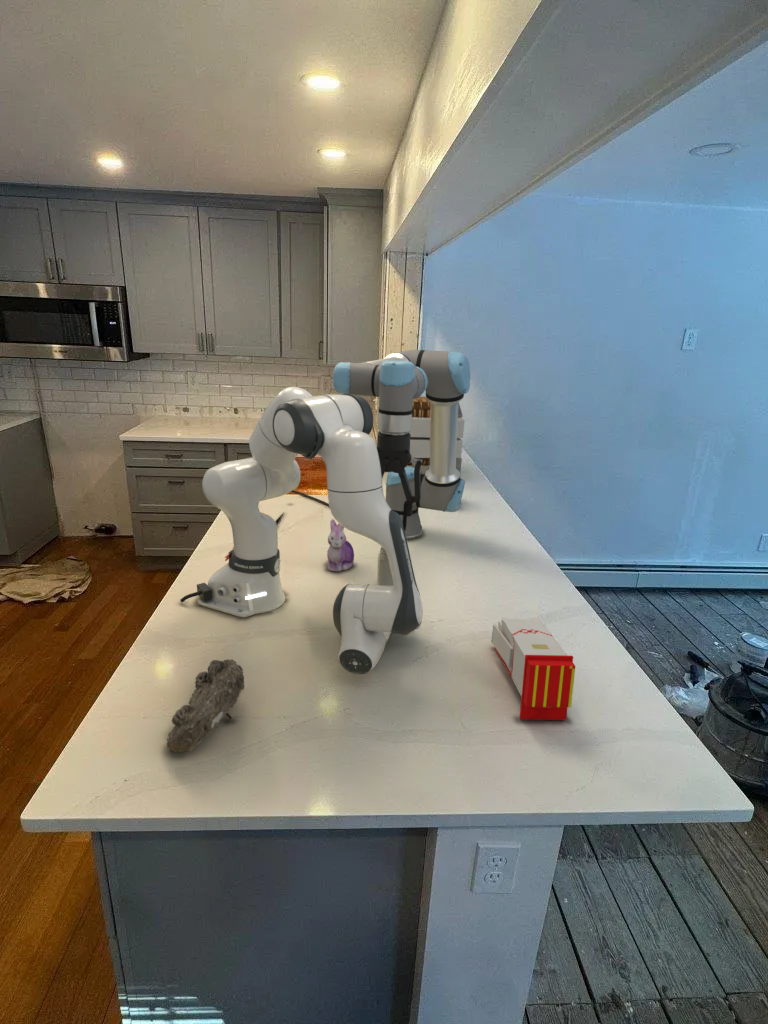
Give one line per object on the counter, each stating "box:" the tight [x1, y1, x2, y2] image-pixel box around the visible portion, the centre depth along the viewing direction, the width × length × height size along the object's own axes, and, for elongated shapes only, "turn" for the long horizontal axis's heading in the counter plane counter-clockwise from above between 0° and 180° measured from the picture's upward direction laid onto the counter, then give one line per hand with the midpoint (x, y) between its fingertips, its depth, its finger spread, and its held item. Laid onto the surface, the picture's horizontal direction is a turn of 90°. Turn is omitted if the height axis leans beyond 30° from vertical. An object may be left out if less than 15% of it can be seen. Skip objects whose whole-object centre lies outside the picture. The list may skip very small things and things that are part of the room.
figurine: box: [326, 518, 355, 572], centre depth 171 cm, size 9×10×15 cm
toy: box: [490, 617, 576, 721], centre depth 122 cm, size 12×13×30 cm
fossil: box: [166, 658, 245, 754], centre depth 106 cm, size 22×10×15 cm
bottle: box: [376, 545, 394, 586], centre depth 140 cm, size 5×5×24 cm
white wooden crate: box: [406, 396, 465, 475], centre depth 268 cm, size 34×33×41 cm
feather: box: [274, 503, 291, 525], centre depth 211 cm, size 2×28×2 cm
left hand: (386, 596), depth 143 cm, fingers closed on bottle, 5 cm apart
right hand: (389, 526), depth 135 cm, fingers open, 7 cm apart
